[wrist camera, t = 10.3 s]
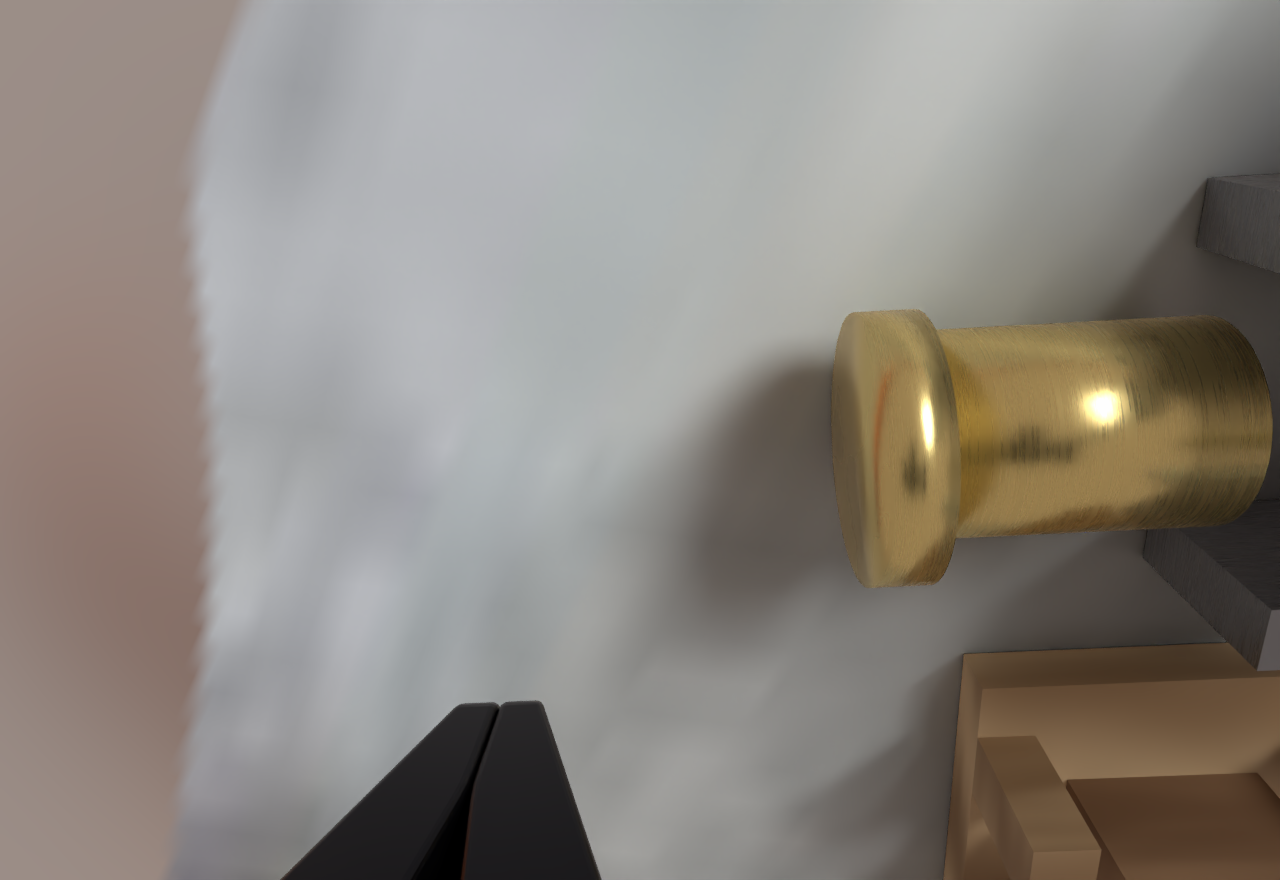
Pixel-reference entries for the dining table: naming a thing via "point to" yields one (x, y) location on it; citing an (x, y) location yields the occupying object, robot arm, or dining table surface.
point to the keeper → (1269, 529)
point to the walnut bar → (1182, 826)
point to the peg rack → (1092, 744)
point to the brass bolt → (1037, 433)
